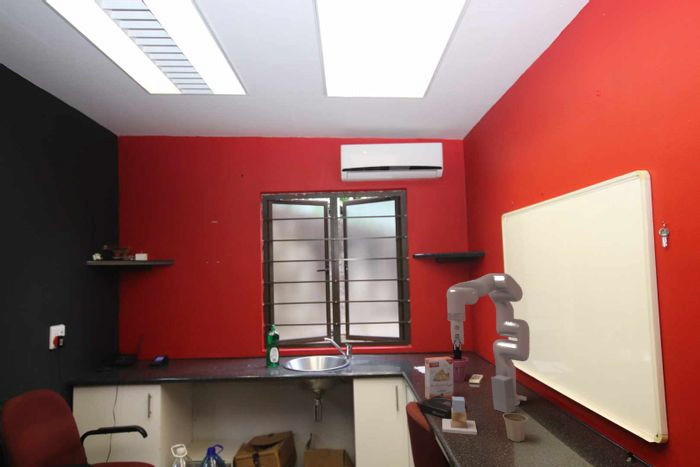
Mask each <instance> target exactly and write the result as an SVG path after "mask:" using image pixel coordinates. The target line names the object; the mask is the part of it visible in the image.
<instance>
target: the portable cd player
mask: <svg viewBox="0 0 700 467" xmlns="http://www.w3.org/2000/svg"><path fill="white" fill-rule="evenodd" d="M418 405H419V407H420V409H421V411H422V412H421V413H424V414H427V415H430V416H433V417H435V418H436V417H437V418H438V419H441V420H442V419H452V409H451V408H452V399H448V398H444V397H440V396H435V397H433V398H430V399H427V398H426V399H425V400H422V401H420V402H418V403H417V406H418ZM465 409H466V411H467V410H468V408H467V403H466V402H465Z"/></svg>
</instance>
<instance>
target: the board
mask: <svg viewBox="0 0 700 467" xmlns="http://www.w3.org/2000/svg"><path fill="white" fill-rule="evenodd" d="M441 420H442V433H447V434H448V433H450V434H451V433H452V434H461V435H463V434H464V435H474V436H476V435H478V431H477V426H476V422H475V420H469V419H466V422H467V428H461V427H452V418H450V419H442V418H441Z"/></svg>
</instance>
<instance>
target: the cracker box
mask: <svg viewBox="0 0 700 467" xmlns="http://www.w3.org/2000/svg"><path fill="white" fill-rule="evenodd" d="M435 396H440V397H444V398H448V399H452V397H454V381H453V359H452V358H450V357H447V356H438V357H436V356H435V357H424V398H425V399H426V400H427V399H430V398H433V397H435Z"/></svg>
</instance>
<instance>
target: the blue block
mask: <svg viewBox="0 0 700 467" xmlns="http://www.w3.org/2000/svg"><path fill="white" fill-rule="evenodd" d="M465 401H466V400H465V397H463V396H453V397H452V409H453V412H458V413H465V403H466V402H465Z"/></svg>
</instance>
